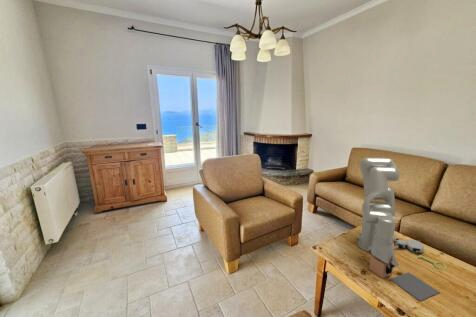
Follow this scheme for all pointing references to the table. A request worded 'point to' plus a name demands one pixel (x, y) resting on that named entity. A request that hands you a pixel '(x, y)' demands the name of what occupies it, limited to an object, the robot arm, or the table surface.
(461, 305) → the table surface
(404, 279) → the charcoal mat
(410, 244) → the robot toy
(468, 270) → the table surface
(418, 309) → the table surface
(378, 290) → the table surface
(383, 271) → the brown cube
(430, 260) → the key
